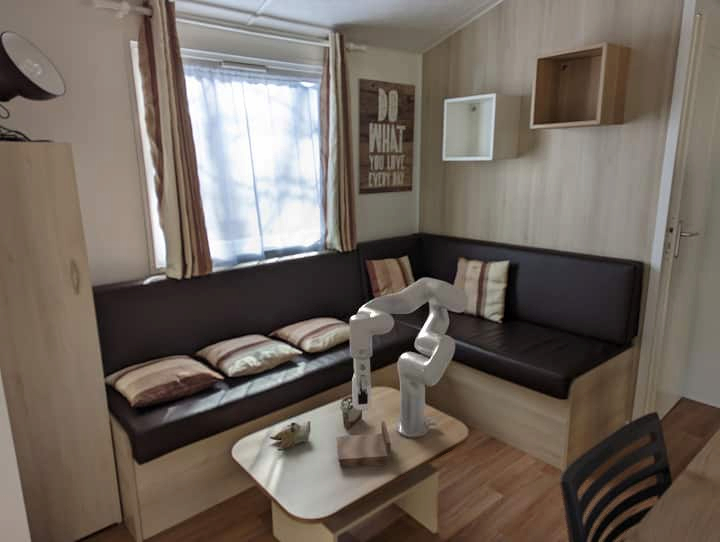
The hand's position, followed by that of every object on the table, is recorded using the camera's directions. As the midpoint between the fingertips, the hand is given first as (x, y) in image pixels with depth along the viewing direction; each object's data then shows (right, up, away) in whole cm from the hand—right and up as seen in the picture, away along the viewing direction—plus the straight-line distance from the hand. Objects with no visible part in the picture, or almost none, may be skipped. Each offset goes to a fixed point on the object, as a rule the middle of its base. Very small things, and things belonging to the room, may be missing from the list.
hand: (361, 398), depth 176 cm
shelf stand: (0, -22, +5) cm, 23 cm away
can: (0, -3, +1) cm, 3 cm away
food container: (-5, -17, +27) cm, 33 cm away
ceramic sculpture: (-26, -21, +14) cm, 36 cm away
